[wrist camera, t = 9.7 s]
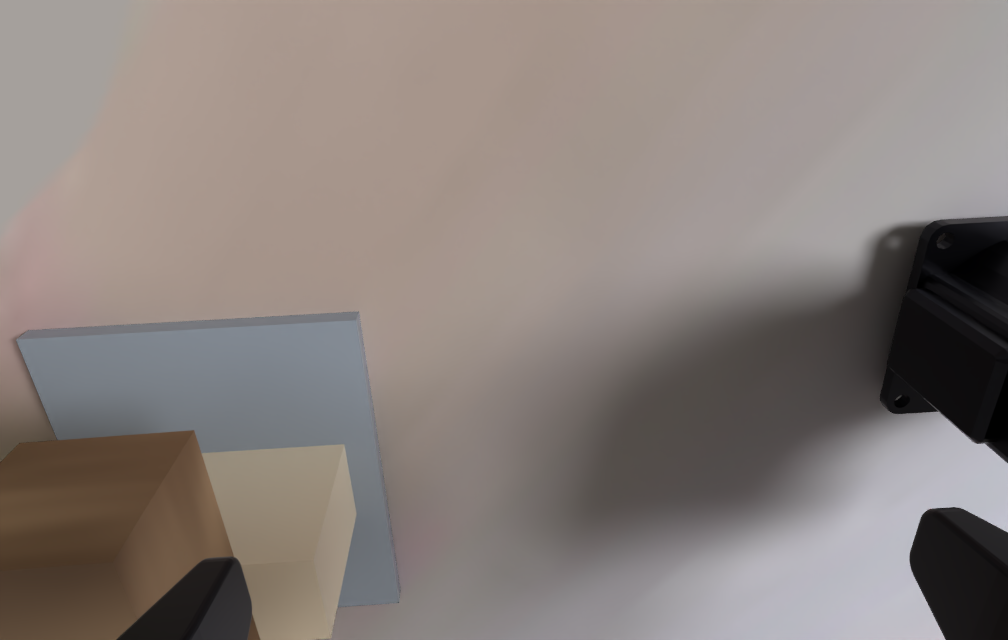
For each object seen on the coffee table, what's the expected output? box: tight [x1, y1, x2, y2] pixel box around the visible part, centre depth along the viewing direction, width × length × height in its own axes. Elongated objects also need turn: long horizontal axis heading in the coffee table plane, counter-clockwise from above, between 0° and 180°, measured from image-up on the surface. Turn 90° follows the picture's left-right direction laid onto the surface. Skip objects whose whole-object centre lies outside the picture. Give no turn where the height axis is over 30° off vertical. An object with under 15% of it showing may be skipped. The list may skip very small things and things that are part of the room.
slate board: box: [16, 312, 400, 640], centre depth 21 cm, size 10×12×6 cm
